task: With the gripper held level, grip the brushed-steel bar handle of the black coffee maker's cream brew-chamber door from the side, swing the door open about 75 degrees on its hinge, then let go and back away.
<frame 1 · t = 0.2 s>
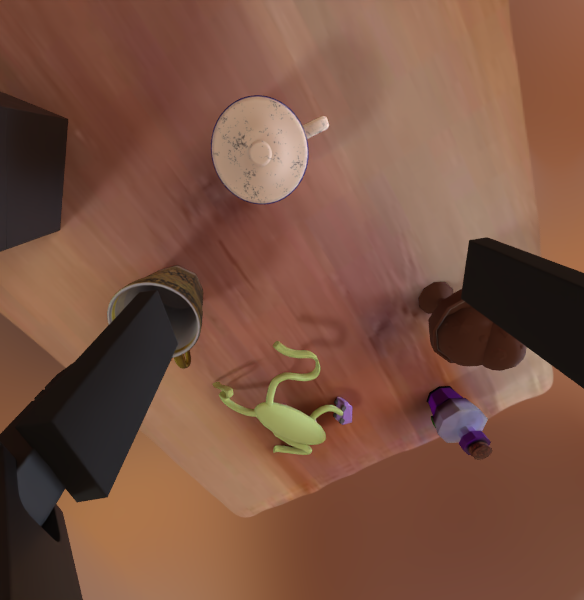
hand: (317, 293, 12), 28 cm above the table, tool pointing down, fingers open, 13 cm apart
potion bottle: (440, 396, 56), on the table
ice cream bowl: (434, 297, 46), on the table
figurine: (286, 393, 52), on the table
ceramic cup: (183, 296, 42), on the table
teacup with lid: (272, 149, 35), on the table
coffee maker: (0, 155, 33), on the table
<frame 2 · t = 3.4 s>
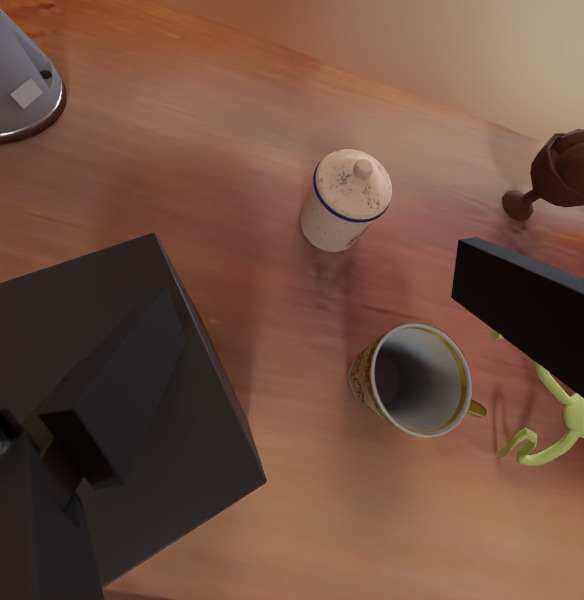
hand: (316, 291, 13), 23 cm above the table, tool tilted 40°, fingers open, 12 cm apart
ice cream bowl: (515, 206, 48), on the table
figurine: (553, 396, 40), on the table
ceramic cup: (383, 384, 36), on the table
teacup with lid: (331, 217, 41), on the table
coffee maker: (165, 396, 31), on the table
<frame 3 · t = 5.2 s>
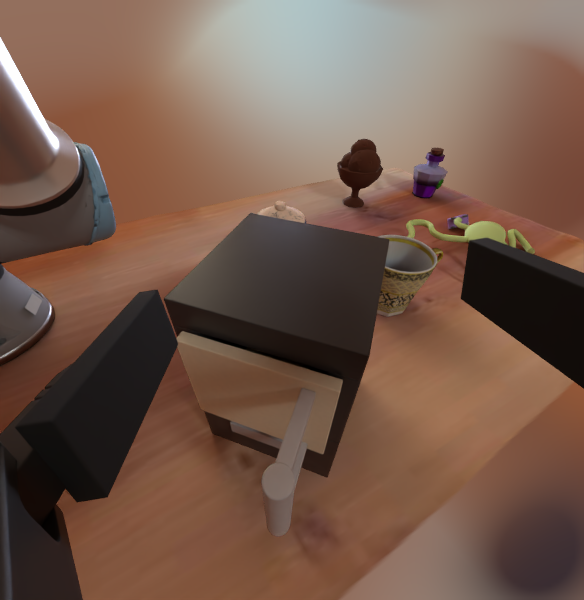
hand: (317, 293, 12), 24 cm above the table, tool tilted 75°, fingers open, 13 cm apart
potion bottle: (422, 195, 83), on the table
ice cream bowl: (353, 203, 77), on the table
figurine: (462, 252, 61), on the table
chamber door: (239, 436, 19), point 13 cm above the table, hinge at 0.0°
ceramic cup: (391, 302, 49), on the table
teacup with lid: (277, 257, 58), on the table
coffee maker: (287, 400, 35), on the table
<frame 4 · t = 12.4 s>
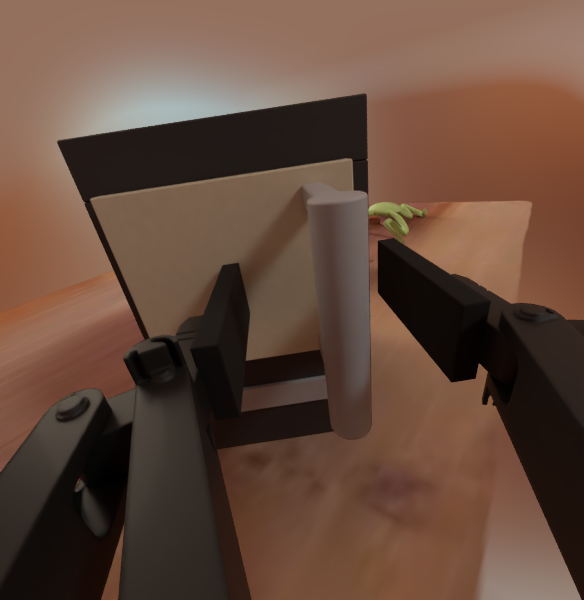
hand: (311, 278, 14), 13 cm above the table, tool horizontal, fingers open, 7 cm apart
figurine: (375, 230, 66), on the table
chamber door: (240, 306, 12), point 13 cm above the table, hinge at -0.1°, touching gripper
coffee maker: (280, 377, 27), on the table
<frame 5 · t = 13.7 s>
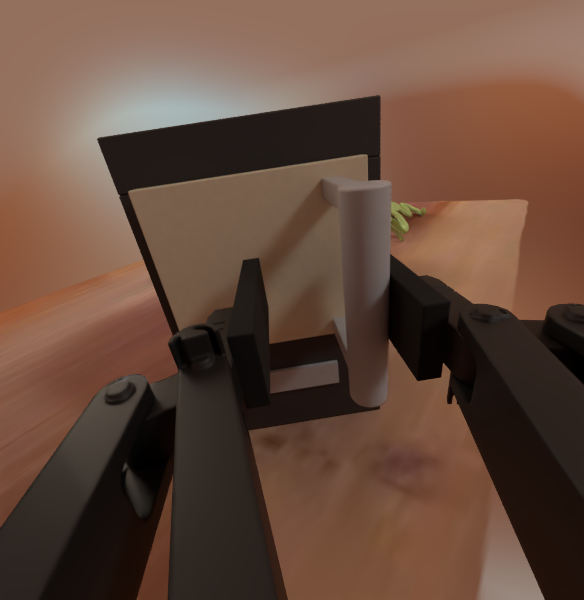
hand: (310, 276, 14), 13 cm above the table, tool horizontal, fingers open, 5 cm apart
figurine: (375, 228, 68), on the table
chamber door: (266, 289, 13), point 13 cm above the table, hinge at -0.3°, touching gripper
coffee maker: (289, 367, 28), on the table
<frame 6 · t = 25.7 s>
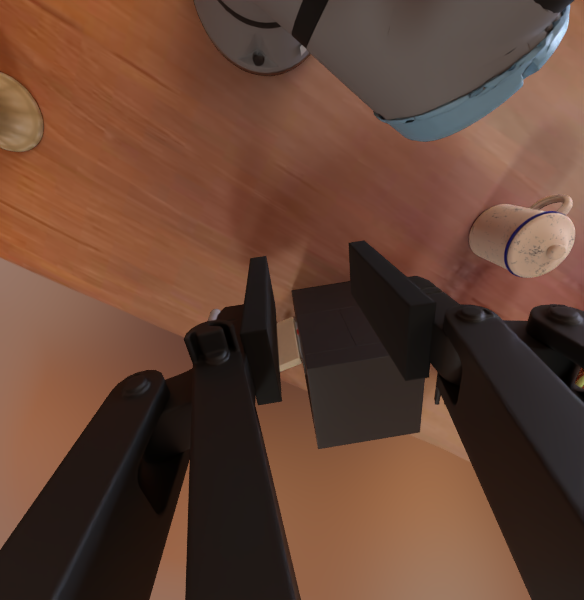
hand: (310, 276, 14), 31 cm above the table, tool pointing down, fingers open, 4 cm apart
hand bell: (6, 113, 35), on the table
chamber door: (247, 336, 36), point 13 cm above the table, hinge at 73.7°
teacup with lid: (500, 223, 46), on the table
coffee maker: (332, 317, 51), on the table
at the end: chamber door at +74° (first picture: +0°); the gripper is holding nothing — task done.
